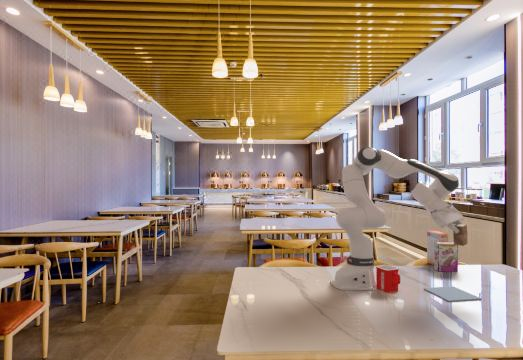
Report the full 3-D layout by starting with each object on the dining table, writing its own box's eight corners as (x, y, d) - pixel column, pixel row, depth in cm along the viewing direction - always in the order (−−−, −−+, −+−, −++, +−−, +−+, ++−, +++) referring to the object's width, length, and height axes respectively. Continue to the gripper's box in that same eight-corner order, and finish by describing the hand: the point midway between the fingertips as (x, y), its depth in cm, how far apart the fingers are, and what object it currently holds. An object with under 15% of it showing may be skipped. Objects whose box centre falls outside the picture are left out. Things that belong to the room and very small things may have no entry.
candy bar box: (438, 272, 178) (437, 243, 179) (434, 269, 183) (433, 241, 184) (458, 272, 177) (458, 243, 178) (454, 270, 182) (453, 242, 183)
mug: (374, 287, 152) (374, 266, 152) (387, 285, 155) (387, 264, 155) (392, 296, 141) (392, 272, 141) (406, 293, 144) (406, 270, 144)
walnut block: (453, 244, 146) (452, 225, 146) (458, 242, 149) (457, 223, 149) (463, 245, 143) (463, 226, 143) (468, 243, 146) (467, 224, 146)
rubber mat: (448, 301, 134) (448, 300, 134) (423, 289, 149) (423, 288, 149) (481, 299, 136) (481, 298, 136) (453, 287, 152) (453, 286, 152)
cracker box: (448, 268, 186) (448, 233, 186) (438, 268, 186) (438, 233, 186) (436, 262, 200) (436, 230, 200) (426, 262, 200) (426, 230, 200)
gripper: (433, 207, 145) (457, 230, 137) (452, 202, 157) (475, 223, 150) (424, 216, 149) (446, 239, 141) (443, 210, 161) (465, 231, 153)
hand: (461, 230), depth 145 cm, fingers closed on walnut block, 5 cm apart
